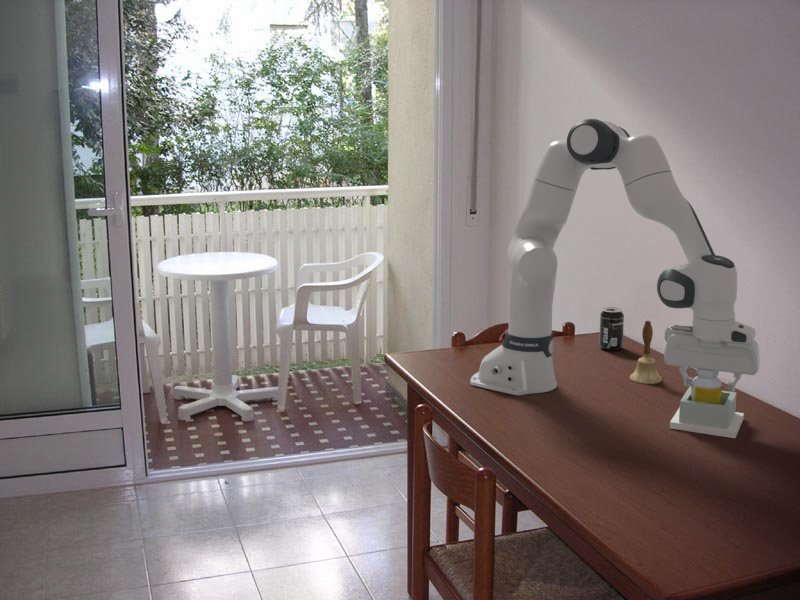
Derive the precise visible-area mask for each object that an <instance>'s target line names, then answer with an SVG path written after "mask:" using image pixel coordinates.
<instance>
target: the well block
mask: <svg viewBox="0 0 800 600" xmlns="http://www.w3.org/2000/svg"><path fill="white" fill-rule="evenodd" d="M691 390H692V386H688V388H687V389H686V392H685V393H684V395H683V396H682V398H681V399H680V401H679V407H678V409H677V411H676V412H675V413H674V415H673V417H672V418H671V419H670V422H669V429H672V430H676V431H677V430H678V431H679V430H680V431H684V432H691V433H692V432H693V433H697V434H705V435H711V436H717V437H723V438H724V437H725V438H732V439H736V437H737V435H738V433H739V430H740V428H741V426H742V423H743V421H744V415H745V413H744V412H739V411H736V408H737V394H738V393H737V392H735V391H734V392H731V391H727V390H722V392H721V405H718V404H710V403H703V402H696V401H691Z"/></svg>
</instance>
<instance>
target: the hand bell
mask: <svg viewBox="0 0 800 600" xmlns="http://www.w3.org/2000/svg"><path fill="white" fill-rule="evenodd" d="M651 323H652V322H651V320H646V321H644V325H643V328H642V340H643V344H644V345H643V356H642V357H639V358H638V360H637V364H636V368H635V370H634V372H632V373H631V374H630V375H629V379H630V380H631V381H632V382H635V383H638V384H643V385H655V384H659V383H661V382H663V378H662V376H660V374H659V372H658V371H657V366H656V360H655V359H654V358H652V357H651V343H652V339H653V336H654V335H653V333H654V331H653V326H652V324H651Z"/></svg>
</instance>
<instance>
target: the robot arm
mask: <svg viewBox="0 0 800 600" xmlns="http://www.w3.org/2000/svg"><path fill="white" fill-rule="evenodd" d="M588 169H590V170H591V171H592V170H594V171H597V170H614V169H616V170H617V171H618V172H619V175H620V176H621V180H622V183H623V187H624V189H625V192H626V193H625V194H626V196H627V199H628V201H629V203H630V205H631V207H632V209H633V210H634V212H635V213H637V214H638V215H640V216H641V217H643V218H645V219H648V220H652V221H653V222H654V221H655V222H657V223H659V224H662V225H664V226H665V227H667V228H669V229H670V230H671V231H672V232H673V233H674V235H675V236H676V238H677V239H678V242H679V244H680V247H681V249H682V251H683V253H684V255H685V258H686V260H687V262H688V263H686V264H682V265H677V266H672V267H669V268H668V269H665V270H663V271H662V272H661V273H660V275H659V276H658V279H657V282H656V292H657V295H658V297H659V300H660V301H661V302H662V304H663V305H665V306H666V307H668V308H671V309H691V310H692V326H691V325H690V326H689V325H679V324H672V325H670V326H668V327H666V329H665V330H664V341H665V348H664V349H665V350H664V355H663V361H664V363H665V364H666V365H667V366H674V367H679V372H680V375H681V376H682V378H683V386H688V387H692V380H693V377H692V376H689V375H688V373H687V370H688V368H692V369H697V368H698V369H706V370H714V371H719V372H724V373H731V374H733V378H734V379H733V381H728V383H727V390H726V391H728V392H735V391H736V384H737V383H738V382H739V381H740V379H741V378H742V375H746V376H747V375H748V376H749V375H750V376H755V375H756V374H757V373H758V372H759V370H760V365H761V363H760V361H761V358H760V349H759V344H758V342H757V341H756V340H755V338H756V334H757V333H756V328H754V327H752V326H749V325H746V324H744V323H741V322H739V321H736V313H735V304H736V300H737V298H738V297H737V294H738V272H737V268H736V265H735V263H734V261H732V260H731V259H729V258H728V257H726V256H722V255H716V254H715V252H714V249H713V248H712V245H711V244H710V241H709V239H708V237H707V234H706V233H705V232H706V231H704V228H703V226H702V224H701V222H700V220H699V217H698V215H697V213H696V211H695V209H694V208H693V206H692V205H691V203H690V202H689V201H688V200H687V199H686V197H684V195H683V193H682V191H680V189H679V186H678V185H677V183H676V180H675V178H674V174H673V172H672V170H671V166H670V164H669V162H668V158H667V157H666V154H665V152H664V151H663V148H662V147H661V145H660V143H659V141H658V140H657V139H656V138H655V136H653V135H651V134H647V133H638V134H634V135H631V136H630V134H629V133H628V132H627V130H626V129H624V128H622V127H621V126H618V125H616V124H614V123H613V122H609V121H606V120H605V121H604V120H601V119H596V118H586V119H583V120H580V121H579V122H577V123H575V124H574V125H573V126H572V127H571V129H569V132H568V134H567V138H566V139H559V140H558V139H557V140H554V141H552V142H550V143H549V144H548V145H547V146H546V149H545V150H544V152H543V154H542V156H541V158H540V161H539V163H538V164H537V168H536V170H535V173H534V176H533V179H532V182H531V186H530V188H529V191H528V195H527V198H526V202H525V204H524V208H523V210H522V212H521V215H520V218H519V220H518V222H517V224H516V226H515V228H514V232H513V234H512V237H511V239H510V241H509V244H508V247H507V251H506V260H507V263H508V265H509V266H510V269H511V283H510V284H511V285H510V293H509V294H510V295H509V300H508V328H507V329H506V330H504V332H503V333H502V334H501V335H500V336H499V342H501V345H499V346H498V347H496V348H495V349H493V350H492V351H490V352H489V353H488V354H486V355H484V357H483V358H482V360H481V362H480V366H479V369H478V370H479V371H477V372H476V373H474V374H473V375H472V376H471V377H470V379H469V380H470V381H469V383H470V385H471V386H475V387H478V388H481V389H482V388H483V389H487V390H491V391H496V392H500V393H504V394H510V395H514V396H524V395H530V394H540V393H541V394H542V393H546V392H551V391H553V390H555V389H556V388H557V387H558V384H557V380H556V375H555V371H554V363H553V353H554V349H555V347H554V346H555V341H554V333H553V329H552V328H553V305H554V304H553V302H554V295H555V291H556V290H555V288H556V281H557V271H558V257H557V254H556V252H555V251H554V247H555V244H556V242H557V239H558V238H559V235H560V234H561V231H562V229H563V228H564V225H566V223H567V221H568V220H569V219H568V218H569V216H570V212H571V209H572V206H573V203H574V200H575V196H576V193H577V191H578V186H579V183H580V180H581V178H582V176H583V174H584V173H585V172H586V171H587V170H588Z"/></svg>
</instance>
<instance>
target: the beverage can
mask: <svg viewBox="0 0 800 600" xmlns="http://www.w3.org/2000/svg"><path fill="white" fill-rule="evenodd" d="M622 311H623V309H622V308H620V307H614V306H613V307H612V306H610V307H609V306H606V307H603V308H602V311H601V312H600V315H599V317H600V318H599V339H598V340H599V344H598V345H599V346H600V348H602V350H605V349H606V350H605V351H609V350H611V352H613V351H619V350H620V349H621V348H623V347H624V346H623V345H624V327H625V325H624V324H625V321H624V320H625V314H624V312H622Z"/></svg>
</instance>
